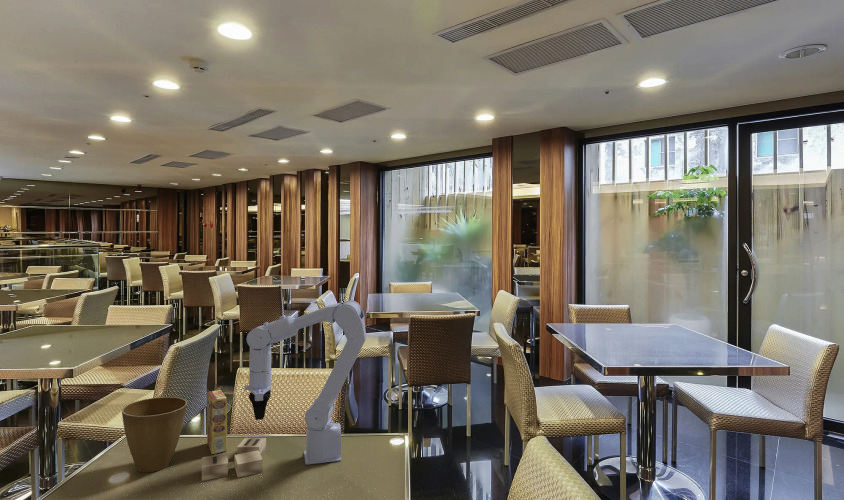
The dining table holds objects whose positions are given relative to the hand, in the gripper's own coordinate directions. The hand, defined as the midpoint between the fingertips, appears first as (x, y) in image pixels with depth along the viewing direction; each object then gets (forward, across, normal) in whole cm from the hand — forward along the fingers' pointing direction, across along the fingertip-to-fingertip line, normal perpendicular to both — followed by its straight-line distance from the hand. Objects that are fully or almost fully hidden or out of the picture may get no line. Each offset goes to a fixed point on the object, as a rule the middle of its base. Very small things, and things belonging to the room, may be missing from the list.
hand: (259, 418), depth 129 cm
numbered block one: (+11, +7, -10) cm, 17 cm away
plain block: (+11, +7, -2) cm, 13 cm away
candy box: (+11, -9, -12) cm, 18 cm away
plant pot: (+11, -1, -26) cm, 28 cm away
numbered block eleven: (+11, -2, -2) cm, 11 cm away
